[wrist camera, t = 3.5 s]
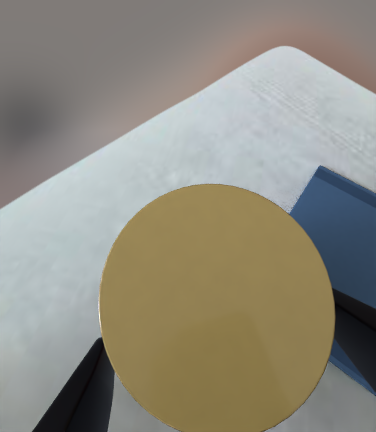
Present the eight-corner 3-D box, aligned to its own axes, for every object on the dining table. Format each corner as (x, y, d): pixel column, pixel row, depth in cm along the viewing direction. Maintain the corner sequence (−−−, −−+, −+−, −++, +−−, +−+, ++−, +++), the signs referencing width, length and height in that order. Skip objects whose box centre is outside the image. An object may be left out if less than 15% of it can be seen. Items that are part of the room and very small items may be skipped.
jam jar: (251, 278, 17) (374, 261, 5) (211, 344, 16) (255, 530, 4) (194, 237, 19) (189, 152, 7) (152, 293, 17) (49, 309, 5)
